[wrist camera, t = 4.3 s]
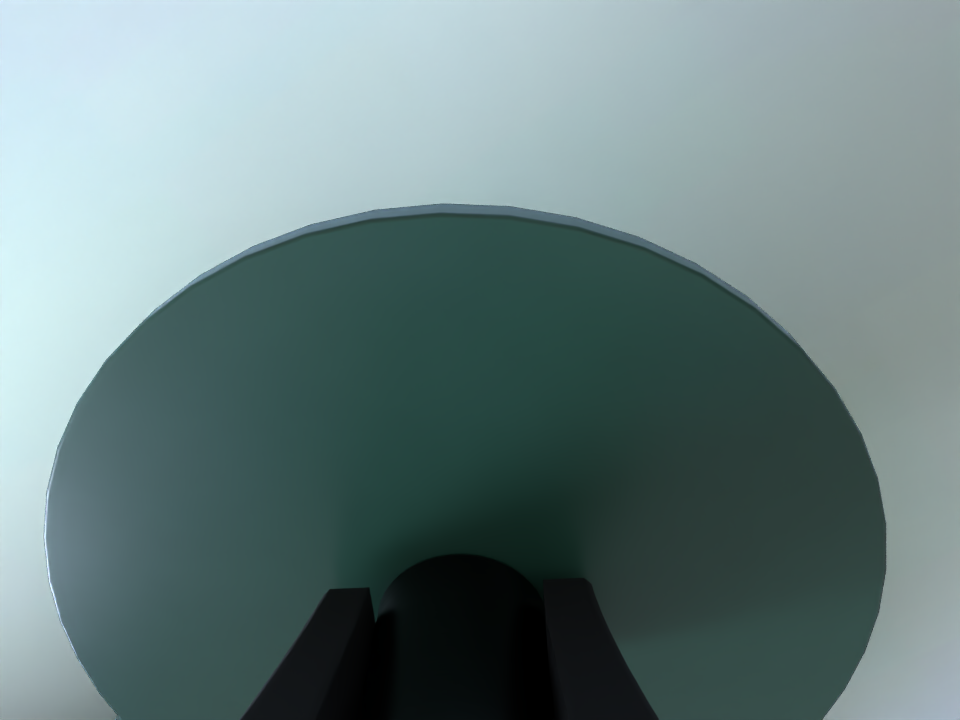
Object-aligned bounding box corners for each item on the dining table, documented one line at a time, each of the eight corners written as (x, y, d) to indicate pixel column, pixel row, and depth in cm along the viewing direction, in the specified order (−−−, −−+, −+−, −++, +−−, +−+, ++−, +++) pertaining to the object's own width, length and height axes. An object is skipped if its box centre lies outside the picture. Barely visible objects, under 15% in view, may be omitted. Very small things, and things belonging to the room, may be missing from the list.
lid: (321, 868, 17) (269, 1133, 13) (-95, 397, 12) (-384, 603, 8) (924, 708, 14) (1083, 979, 10) (727, 18, 9) (895, 47, 5)
